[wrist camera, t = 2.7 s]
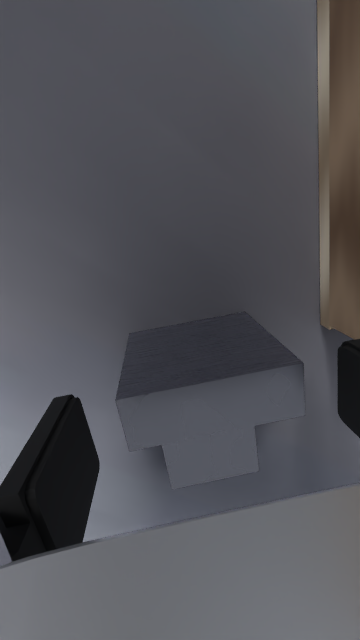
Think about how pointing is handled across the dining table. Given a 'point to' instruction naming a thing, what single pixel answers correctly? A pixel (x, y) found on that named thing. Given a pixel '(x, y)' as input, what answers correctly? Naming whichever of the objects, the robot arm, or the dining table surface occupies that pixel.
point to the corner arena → (339, 163)
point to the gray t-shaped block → (207, 394)
